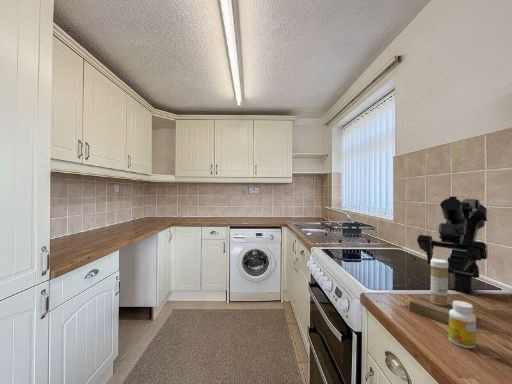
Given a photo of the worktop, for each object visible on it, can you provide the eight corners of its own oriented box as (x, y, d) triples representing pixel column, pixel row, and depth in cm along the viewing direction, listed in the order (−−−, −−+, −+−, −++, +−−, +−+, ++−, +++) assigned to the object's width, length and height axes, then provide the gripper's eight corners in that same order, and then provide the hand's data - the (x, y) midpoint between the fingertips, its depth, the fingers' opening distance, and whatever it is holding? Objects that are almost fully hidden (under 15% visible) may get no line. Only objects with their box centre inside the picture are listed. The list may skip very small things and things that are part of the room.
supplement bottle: (443, 336, 68) (443, 299, 68) (462, 336, 69) (463, 299, 69) (461, 349, 63) (461, 308, 63) (481, 348, 63) (482, 308, 63)
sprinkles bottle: (446, 302, 83) (446, 259, 83) (449, 307, 79) (450, 263, 79) (428, 299, 85) (429, 257, 85) (430, 304, 81) (431, 261, 81)
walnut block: (427, 302, 90) (427, 293, 90) (470, 316, 80) (471, 306, 80) (409, 310, 83) (409, 301, 83) (454, 327, 73) (454, 316, 73)
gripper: (419, 212, 96) (407, 246, 88) (486, 216, 82) (479, 258, 74) (425, 231, 101) (415, 265, 94) (490, 239, 87) (484, 279, 80)
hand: (445, 266), depth 85 cm, fingers open, 9 cm apart
